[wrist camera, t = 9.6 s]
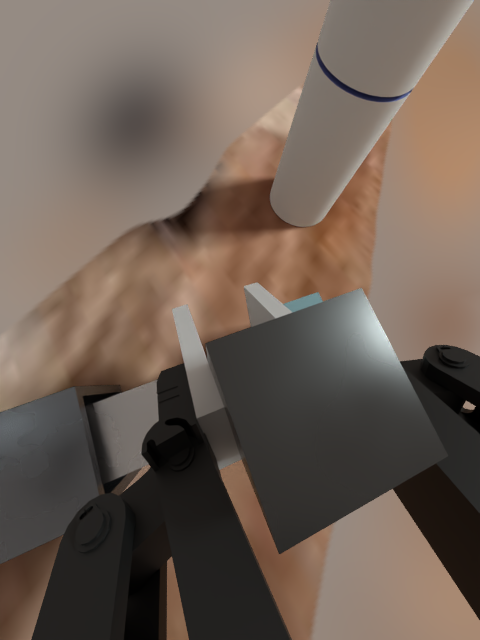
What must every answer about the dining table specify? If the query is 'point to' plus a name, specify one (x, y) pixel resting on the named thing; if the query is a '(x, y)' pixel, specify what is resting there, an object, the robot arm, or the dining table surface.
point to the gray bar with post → (298, 416)
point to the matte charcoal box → (49, 467)
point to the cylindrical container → (355, 95)
